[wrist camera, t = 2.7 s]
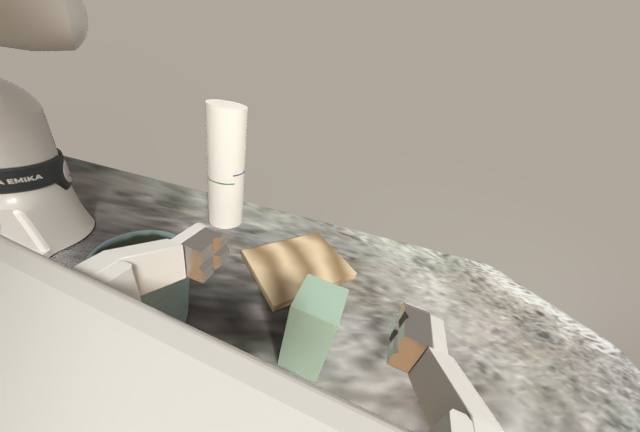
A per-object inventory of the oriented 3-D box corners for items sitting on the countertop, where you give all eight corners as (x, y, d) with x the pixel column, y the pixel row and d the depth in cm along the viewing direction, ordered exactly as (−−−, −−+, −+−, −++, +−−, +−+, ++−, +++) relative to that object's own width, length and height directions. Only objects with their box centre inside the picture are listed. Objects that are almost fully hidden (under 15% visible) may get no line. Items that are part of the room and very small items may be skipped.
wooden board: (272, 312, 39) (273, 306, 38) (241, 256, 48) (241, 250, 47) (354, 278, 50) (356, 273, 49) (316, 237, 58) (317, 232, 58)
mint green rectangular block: (315, 382, 32) (338, 326, 26) (277, 364, 33) (290, 305, 27) (327, 345, 37) (349, 290, 30) (293, 329, 37) (308, 273, 31)
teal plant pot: (112, 302, 35) (89, 235, 29) (191, 283, 41) (185, 224, 34) (105, 370, 28) (72, 302, 22) (201, 338, 34) (196, 275, 28)
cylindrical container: (248, 222, 58) (256, 110, 45) (220, 232, 53) (220, 109, 40) (230, 208, 61) (232, 100, 48) (202, 217, 56) (196, 98, 43)
